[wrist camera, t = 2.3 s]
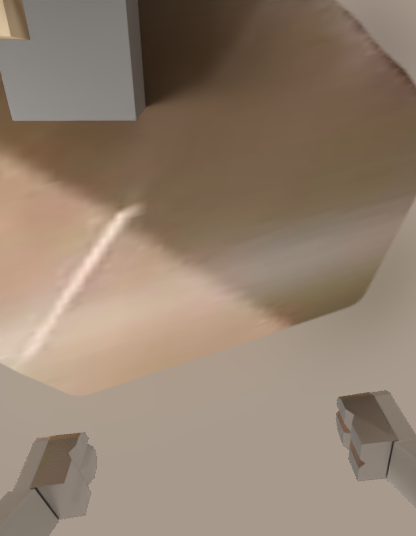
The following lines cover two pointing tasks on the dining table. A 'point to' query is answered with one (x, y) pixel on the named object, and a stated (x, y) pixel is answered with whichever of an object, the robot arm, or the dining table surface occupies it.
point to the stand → (75, 62)
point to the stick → (13, 21)
